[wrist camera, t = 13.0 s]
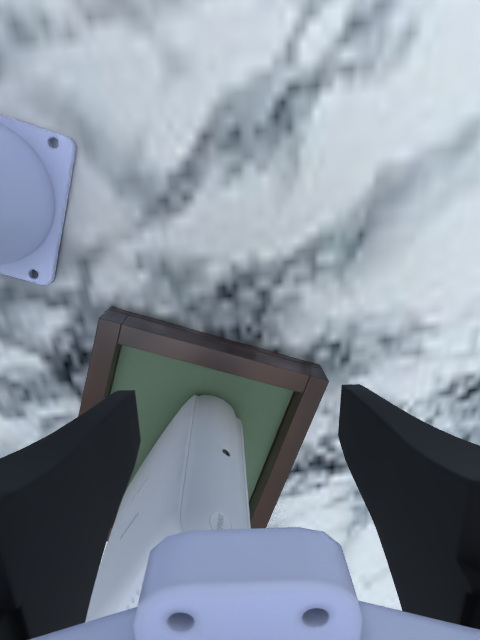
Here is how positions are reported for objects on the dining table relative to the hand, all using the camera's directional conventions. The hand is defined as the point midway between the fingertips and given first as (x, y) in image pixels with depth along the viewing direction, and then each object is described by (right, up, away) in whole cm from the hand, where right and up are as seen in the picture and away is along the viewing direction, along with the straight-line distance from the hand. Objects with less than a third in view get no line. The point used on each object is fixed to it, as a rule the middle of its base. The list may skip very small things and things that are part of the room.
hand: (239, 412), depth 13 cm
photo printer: (-4, -6, +12) cm, 14 cm away
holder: (-4, -5, +12) cm, 14 cm away
